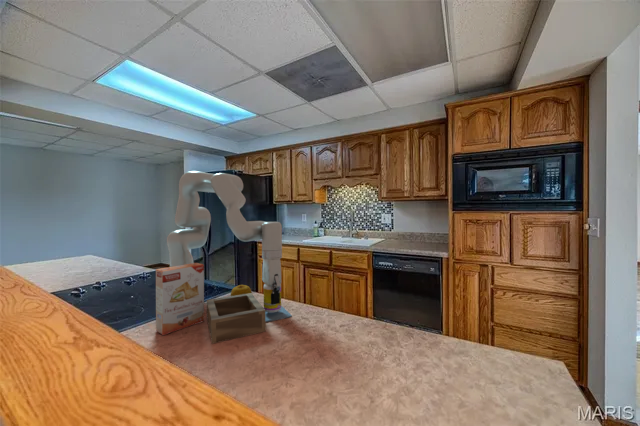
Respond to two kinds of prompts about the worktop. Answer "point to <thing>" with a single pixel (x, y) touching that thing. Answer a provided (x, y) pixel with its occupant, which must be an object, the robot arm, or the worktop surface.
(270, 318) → the mat
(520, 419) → the worktop surface
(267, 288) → the supplement bottle
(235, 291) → the apple
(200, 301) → the cracker box
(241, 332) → the box
